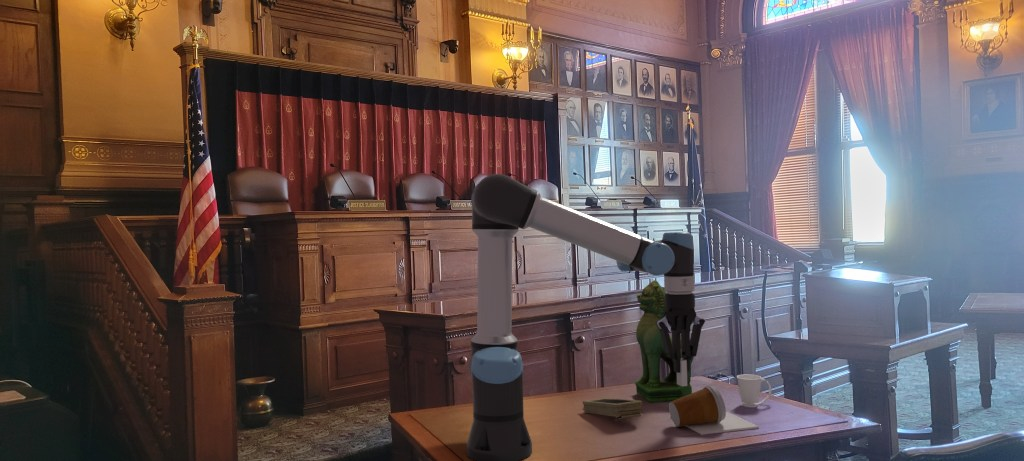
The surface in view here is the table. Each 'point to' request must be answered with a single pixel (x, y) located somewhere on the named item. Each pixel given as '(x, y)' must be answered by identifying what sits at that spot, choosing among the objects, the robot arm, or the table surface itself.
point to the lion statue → (656, 350)
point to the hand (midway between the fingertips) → (682, 384)
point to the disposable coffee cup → (698, 408)
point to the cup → (751, 389)
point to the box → (614, 407)
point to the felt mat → (723, 425)
